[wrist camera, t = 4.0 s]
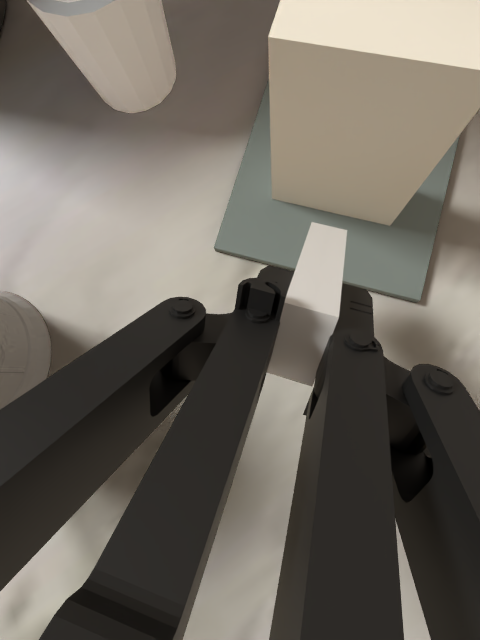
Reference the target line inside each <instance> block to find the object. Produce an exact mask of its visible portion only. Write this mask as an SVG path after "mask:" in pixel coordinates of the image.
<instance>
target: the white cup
mask: <svg viewBox="0 0 480 640" xmlns="http://www.w3.org/2000/svg"><path fill="white" fill-rule="evenodd" d="M27 2H28V3H29V4H30V6H31V7H32V8H33V10H34V11H35V12H36V13H37V15H38V16H39V17H40V19H41V20H42V21H43V23H44V24H45V25H46V26H47V28H48V29H49V30H50V32H51V33H52V34H53V36H54V37H55V38H56V39H57V41H58V42H59V43H60V45H61V46H62V47H63V48H64V50H65V51H66V52H67V54H68V55H69V56H70V58H71V59H72V60H73V61H74V63H75V64H76V65H77V67H78V68H79V69H80V71H81V72H82V73H83V74H84V76H85V77H86V78H87V80H88V81H89V82H90V83H91V85H92V86H93V87H94V89H95V90H96V91H97V93H98V94H99V95H100V96H101V98H102V99H103V100H104V102H106V103H107V104H108V105H109V106H111V107H112V108H113V109H115V110H117V111H122V112H126V113H136V112H143V111H147V110H149V109H150V108H152V107H154V106H156V105H158V104H160V103H161V102H162V101H163V100H164V99H165V97H166V96H167V95H168V94H169V93H170V92H171V90H172V87H173V85H174V82H175V80H176V64H175V59H174V55H173V50H172V46H171V41H170V37H169V32H168V28H167V23H166V18H165V14H164V9H163V5H162V0H27Z"/></svg>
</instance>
